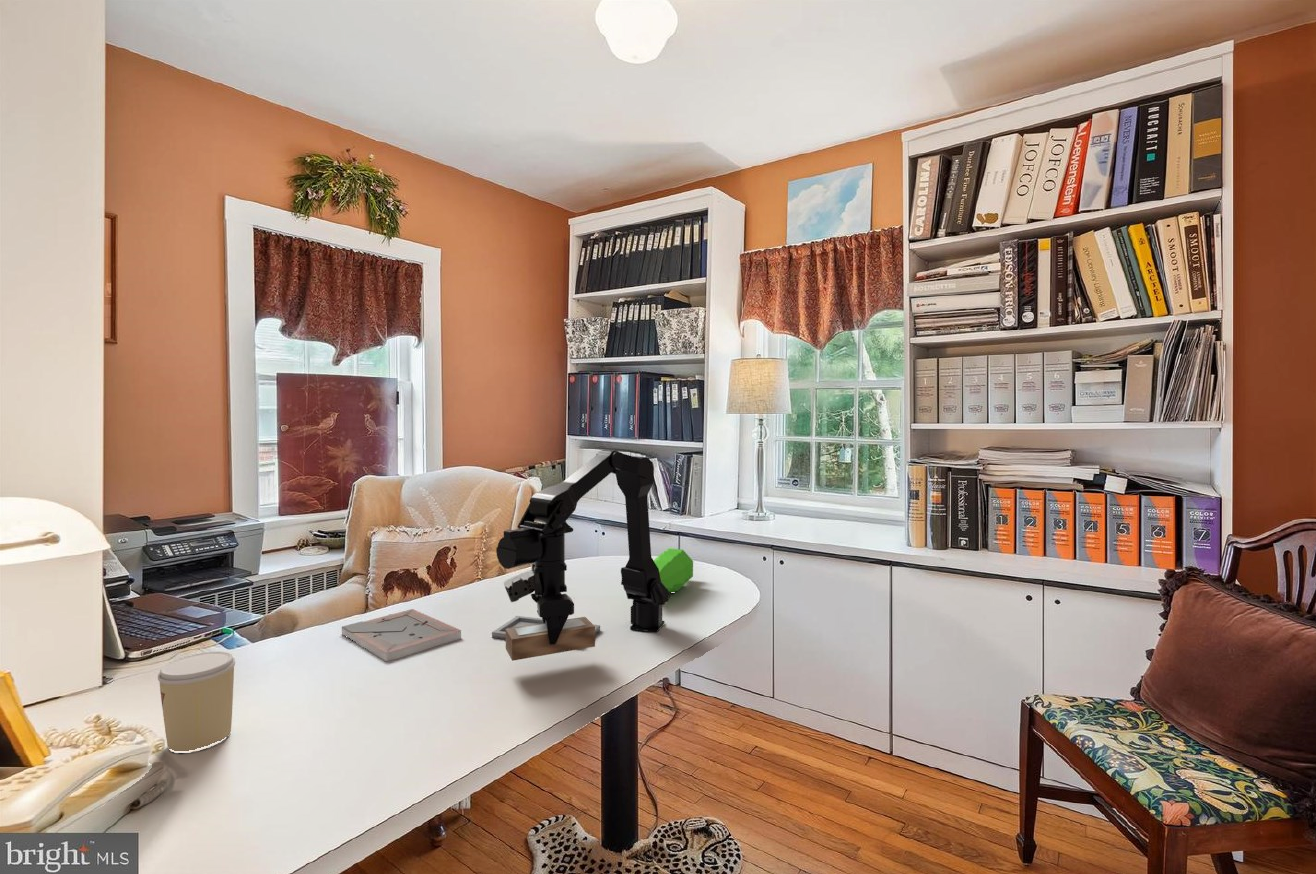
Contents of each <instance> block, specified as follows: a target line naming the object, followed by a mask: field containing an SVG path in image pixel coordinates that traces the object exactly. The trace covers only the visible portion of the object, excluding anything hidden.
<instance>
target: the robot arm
mask: <svg viewBox="0 0 1316 874" xmlns="http://www.w3.org/2000/svg"><path fill="white" fill-rule="evenodd" d="M611 474H614V475H615V477H616V478H615V479H616V482H617V483H616V484H617V486H618V488H619V489H620V491H621V492H622V494H623V495H624V499H625V500H624V501H625V502H624V503H625V512H626V513H625V515H626V529H627V541H628V543H627V545H628V557H629V558H628V560H627V563H626V564H625V566H623V567H621V568H620V574H621V581H620V585H622V587H623V589H624V591H625V594H626V597H627V600H632V605H631V606H630V627H629V629H630V630H633V631H643V632H651V633H658V630H659V631H660V629H662V627H663V626H664V625H665V620H663V606H664V605H665V604H666V602H669V599H670V594H671V593H670V592H669V591H668V590H667V588H666V587H665V586H664V585H663V584H662V582H661V579H660V573H659V569H658V567H657V565H656V564H655V562H654V559H653V557H652V549H651V548H652V546H651V532H650V531H651V530H650V517H649V514H650V513H649V501H648V500H649V499H648V495H649V493H650V491H651V489H652V487H653V485H654V477H655V476H654V475H655V465H654V462H653V461H652V460H651V459H650V458H649V457H647V456H637V455H635V456H633V455H629V454H625V453H623V452H621V451H619V450H613V449H601V450H600V451H597V452H596V455H595V456H594V457H592V458H591V459H590V460H589V461H587V462H585V464H584V465H581V467H580V468H578V469H577V470H576V471H575V472H573V473H572V474H571V475H569V476H568V477H566V479H565V480H563V481H561V482H560V483H557V484H555V485H551V486H548V487H545V488H543V489H541V490H539V491H538V492H535V493H534V494H533V495H532V496H531V497H530V499H529V504H528V506H527V508H526V510H525V511H524V514H523V515H522V517H521V519H520V521H519V522H518V524H517V528H515V529H504V531H503V537H502V538H500V539H499V541H498V543H497V547H496V552H495V553H496V557H497V561H498V563H499V564H500V566H501V567H503V568H504V569H506V570H510V569H513V568H514V569H515V568H517V567H521V566H526V565H530V564H531V569H530V570H527V571H525V572H521V573H519V574H517V575H515V576H513V577H511V578H508V579H506V580H504V581H503V586H504V588H505V591H506V594H507V596H508V598H509V601H510V603H516V602H518V601H519V600H520V599H522V598H524V597H526V596H528V595H530V596H531V599H532V600H533V602H535V603H536V605H537V610H536V612H537V615H538V618H541V619H542V620H543V623H546V627H547V632H548V638H549V642H550V645H553V644H556V642H557V640H558V638H559V636H560V633H561V631H562V629H563V627H564V624H565V622H566V620H567V619H569V616H572V615H574V614H575V602H574V601H573V600H572V598H571V597H570V596H569V595H568V594H567V593H566V592H568V586H567V585H566V573H565V572H566V571H567V569H568V567H567V564H566V561H565V560H566V558H565V557H566V555H565V554H566V553H565V552H566V549H565V547H566V546H565V540H566V539H565V536H566V535H565V534H568V533H572V532H574V528H573V527H572V526H570V525H569V524H568V523H567V520H568V519H569V518H570V517H571V516H572V515H573V513H575V511H576V508H577V506H578V502H579V501H580V500H581V499H582V498H583V497H584V496H585V495H586V494H588V493H589V492H590V491H591V490H593V488H594V487H596V486H597V485H598V484H600V483H601V482H602V481H604V479H606V478H607V477H608V476H609V475H611ZM663 624H664V625H663ZM662 625H663V626H662ZM661 626H662V627H661Z"/></svg>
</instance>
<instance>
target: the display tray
mask: <svg viewBox="0 0 1316 874" xmlns="http://www.w3.org/2000/svg"><path fill="white" fill-rule="evenodd" d="M540 623H543V620H542V617H531V616H522V615H516V616H515V617H513V618H511V620H509V621H507V622H506V623H504V624H502V625H501V626H499V627H498V628H496V629H494V630H493V631H492V632H491V638H494V639H502V640H506V628H513V627H520V626H526V625H533V624H540ZM593 625H594V626H595V636H596V635H598V633H599V632H601V625H600V624H599V625H598V624H593Z"/></svg>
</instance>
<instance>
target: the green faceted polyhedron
mask: <svg viewBox="0 0 1316 874" xmlns="http://www.w3.org/2000/svg"><path fill="white" fill-rule="evenodd" d="M653 561H654V562H655V564H656V565H657V567H658V569H659V573H660V579H661V582H662V584H663V585H664V586H665V587H666V588H667V590H668V591H669V592H675V591H677V592H678V591H679V590H680V589H681V588H682V587H684V586H685V584H686V583H687V582H689V581H690V580H691V579H692V578H693V577H694V560H693V559H692V558H691V557H690V556H689V555H688V554H687V552H686V551H685V550H684V549H679V548H667V549H666V550H663V552H661V553H660V554H659V555H658V556H657V557H655V558H654V559H653Z"/></svg>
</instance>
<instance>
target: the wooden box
mask: <svg viewBox="0 0 1316 874" xmlns="http://www.w3.org/2000/svg"><path fill="white" fill-rule="evenodd" d="M594 625H595V624H593V623H592V622H591V621H590V620H589V619H588V618H587V616H581V617H575V618H567V620H566V622H565V624H564V627H563V629H562V631H561V633H560V636H559V638H558V640H557V642H556V644H553V645H550V642H549V638H548V632H547V627H546V623H540V624H533V625H526V626H520V627H513V628H506V639H505V650H506V652H507V653H508V656H509V658H510V659H511V661H520V660H524V659H530V658H536V657H541V656H542V657H543V656H548V655H552V654H553V655H554V654H560V653H565V652H572V651H577V650H582V649H588V648H594V647H596V635H595V626H594Z"/></svg>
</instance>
